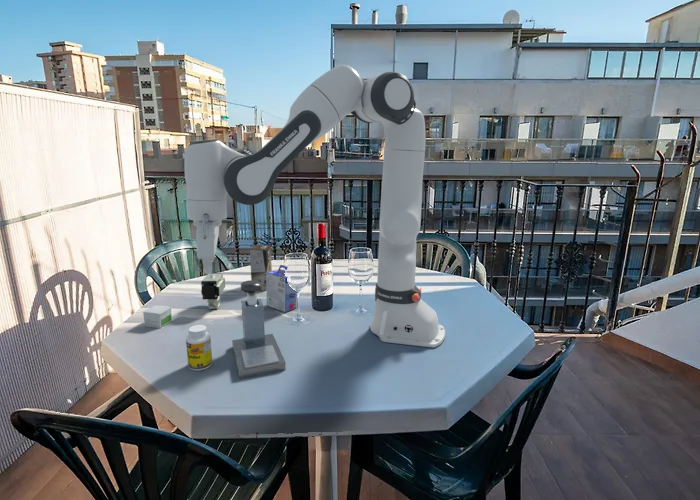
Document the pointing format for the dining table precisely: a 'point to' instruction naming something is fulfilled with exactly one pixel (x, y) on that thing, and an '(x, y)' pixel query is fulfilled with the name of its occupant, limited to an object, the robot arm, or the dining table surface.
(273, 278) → the ink cartridge box
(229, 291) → the dining table surface
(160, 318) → the small box
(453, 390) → the dining table surface
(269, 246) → the coffee box
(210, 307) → the pneumatic valve
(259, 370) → the press
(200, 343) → the supplement bottle
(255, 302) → the ram
